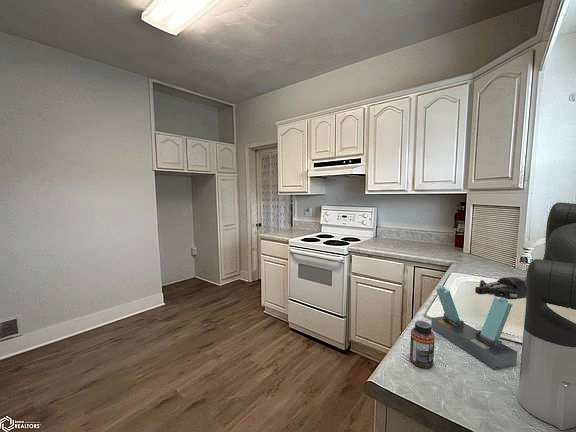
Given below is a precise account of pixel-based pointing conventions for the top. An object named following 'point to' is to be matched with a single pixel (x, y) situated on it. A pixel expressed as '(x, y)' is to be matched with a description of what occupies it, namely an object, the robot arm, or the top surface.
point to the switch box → (475, 343)
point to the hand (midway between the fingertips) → (477, 290)
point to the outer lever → (448, 304)
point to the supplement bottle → (422, 345)
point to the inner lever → (495, 320)
